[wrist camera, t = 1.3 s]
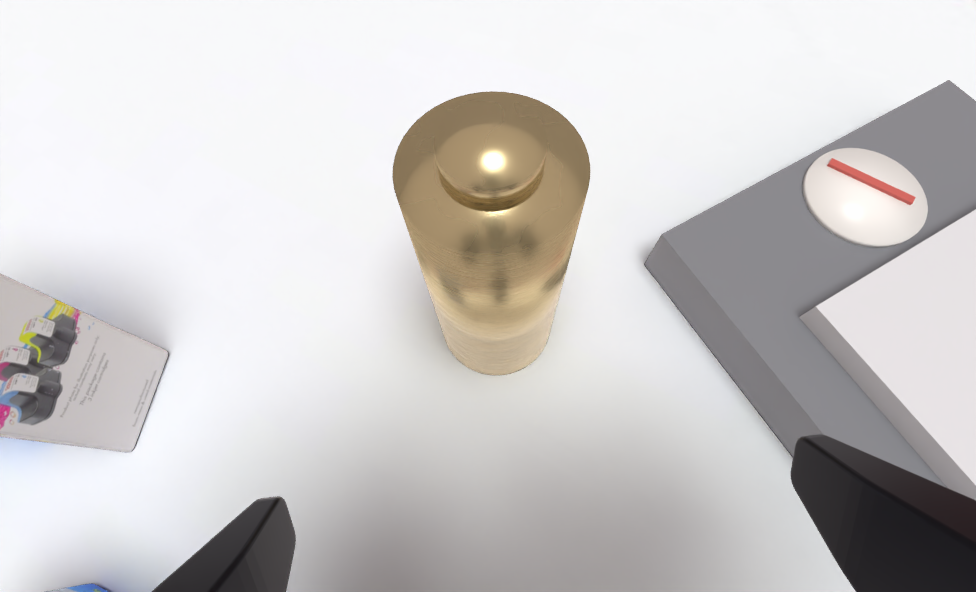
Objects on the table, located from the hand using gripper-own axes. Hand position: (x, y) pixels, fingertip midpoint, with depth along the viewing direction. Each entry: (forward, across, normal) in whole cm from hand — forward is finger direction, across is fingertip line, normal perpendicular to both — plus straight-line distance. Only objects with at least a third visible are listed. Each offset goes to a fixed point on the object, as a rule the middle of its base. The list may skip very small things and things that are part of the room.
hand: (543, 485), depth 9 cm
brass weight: (+15, 0, +4) cm, 16 cm away
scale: (+13, -20, +6) cm, 24 cm away
